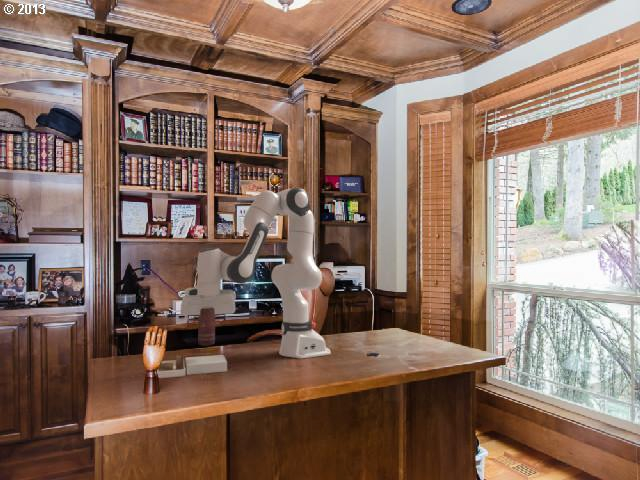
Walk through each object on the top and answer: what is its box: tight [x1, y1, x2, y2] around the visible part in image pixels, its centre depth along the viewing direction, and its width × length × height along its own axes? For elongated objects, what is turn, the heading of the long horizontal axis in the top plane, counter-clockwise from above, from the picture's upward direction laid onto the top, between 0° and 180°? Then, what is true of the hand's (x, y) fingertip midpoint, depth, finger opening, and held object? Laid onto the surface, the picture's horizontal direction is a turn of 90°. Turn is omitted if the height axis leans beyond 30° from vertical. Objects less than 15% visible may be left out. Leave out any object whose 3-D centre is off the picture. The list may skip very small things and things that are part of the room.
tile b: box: [159, 363, 173, 371], centre depth 164 cm, size 5×4×2 cm
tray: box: [157, 359, 186, 379], centre depth 165 cm, size 10×14×2 cm
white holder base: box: [184, 354, 228, 376], centre depth 169 cm, size 14×11×4 cm
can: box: [197, 308, 216, 347], centre depth 169 cm, size 6×6×14 cm
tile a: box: [175, 355, 184, 370], centre depth 166 cm, size 5×4×2 cm
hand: (208, 326), depth 169 cm, fingers closed, pressing on can
